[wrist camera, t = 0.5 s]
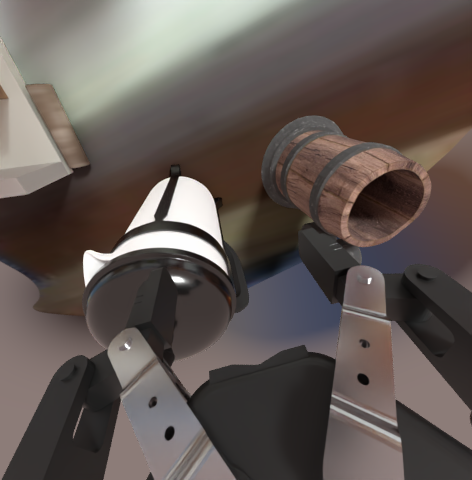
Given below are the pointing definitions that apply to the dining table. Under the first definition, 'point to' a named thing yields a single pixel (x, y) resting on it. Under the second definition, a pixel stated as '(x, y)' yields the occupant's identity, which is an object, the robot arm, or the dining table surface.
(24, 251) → the dining table surface
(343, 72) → the dining table surface
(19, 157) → the l-shaped bookend
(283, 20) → the dining table surface
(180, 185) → the coffee press
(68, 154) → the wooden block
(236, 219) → the dining table surface
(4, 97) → the wooden square-hole block
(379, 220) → the tankard
